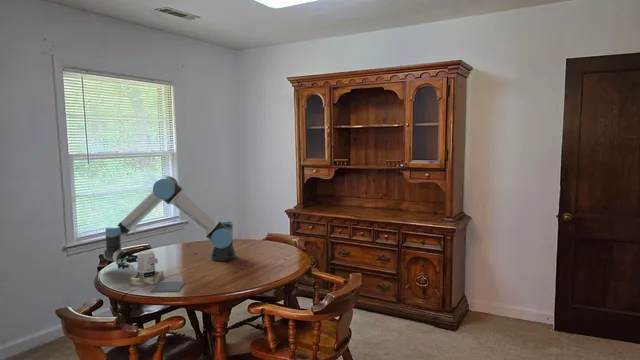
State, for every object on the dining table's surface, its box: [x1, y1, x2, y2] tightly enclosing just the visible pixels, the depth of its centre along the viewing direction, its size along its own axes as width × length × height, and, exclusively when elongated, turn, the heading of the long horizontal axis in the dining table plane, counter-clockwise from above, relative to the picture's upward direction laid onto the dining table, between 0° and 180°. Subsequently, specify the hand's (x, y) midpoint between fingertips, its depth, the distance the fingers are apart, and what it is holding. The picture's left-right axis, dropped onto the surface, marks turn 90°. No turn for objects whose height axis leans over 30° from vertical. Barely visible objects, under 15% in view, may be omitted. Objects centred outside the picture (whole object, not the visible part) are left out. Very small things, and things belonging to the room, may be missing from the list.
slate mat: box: [150, 281, 186, 293], centre depth 208 cm, size 13×13×1 cm
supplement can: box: [137, 250, 156, 278], centre depth 218 cm, size 8×8×15 cm
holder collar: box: [128, 270, 165, 286], centre depth 218 cm, size 13×13×3 cm
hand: (145, 263), depth 217 cm, fingers open, 13 cm apart
